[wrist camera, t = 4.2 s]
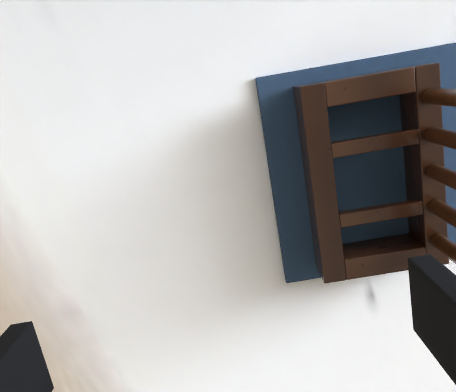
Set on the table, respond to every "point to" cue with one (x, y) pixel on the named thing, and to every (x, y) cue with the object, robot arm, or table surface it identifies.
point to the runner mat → (348, 165)
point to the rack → (407, 138)
